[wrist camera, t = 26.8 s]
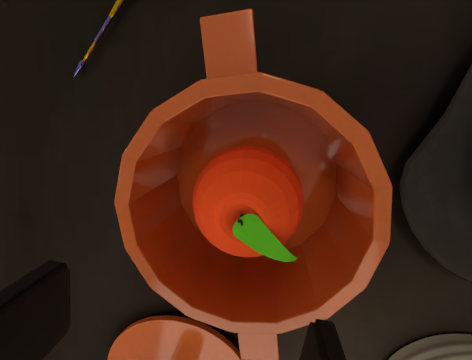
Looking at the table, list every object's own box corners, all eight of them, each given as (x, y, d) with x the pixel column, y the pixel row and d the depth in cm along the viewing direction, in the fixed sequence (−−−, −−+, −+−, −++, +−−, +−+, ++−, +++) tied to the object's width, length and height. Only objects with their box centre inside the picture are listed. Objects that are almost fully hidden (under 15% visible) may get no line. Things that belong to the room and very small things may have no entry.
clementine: (327, 195, 19) (360, 241, 12) (262, 252, 21) (258, 320, 14) (249, 119, 18) (236, 122, 11) (189, 186, 20) (147, 222, 13)
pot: (188, 287, 23) (150, 366, 16) (151, 64, 19) (75, 31, 11) (345, 288, 21) (384, 379, 14) (345, 35, 16) (403, -27, 9)
